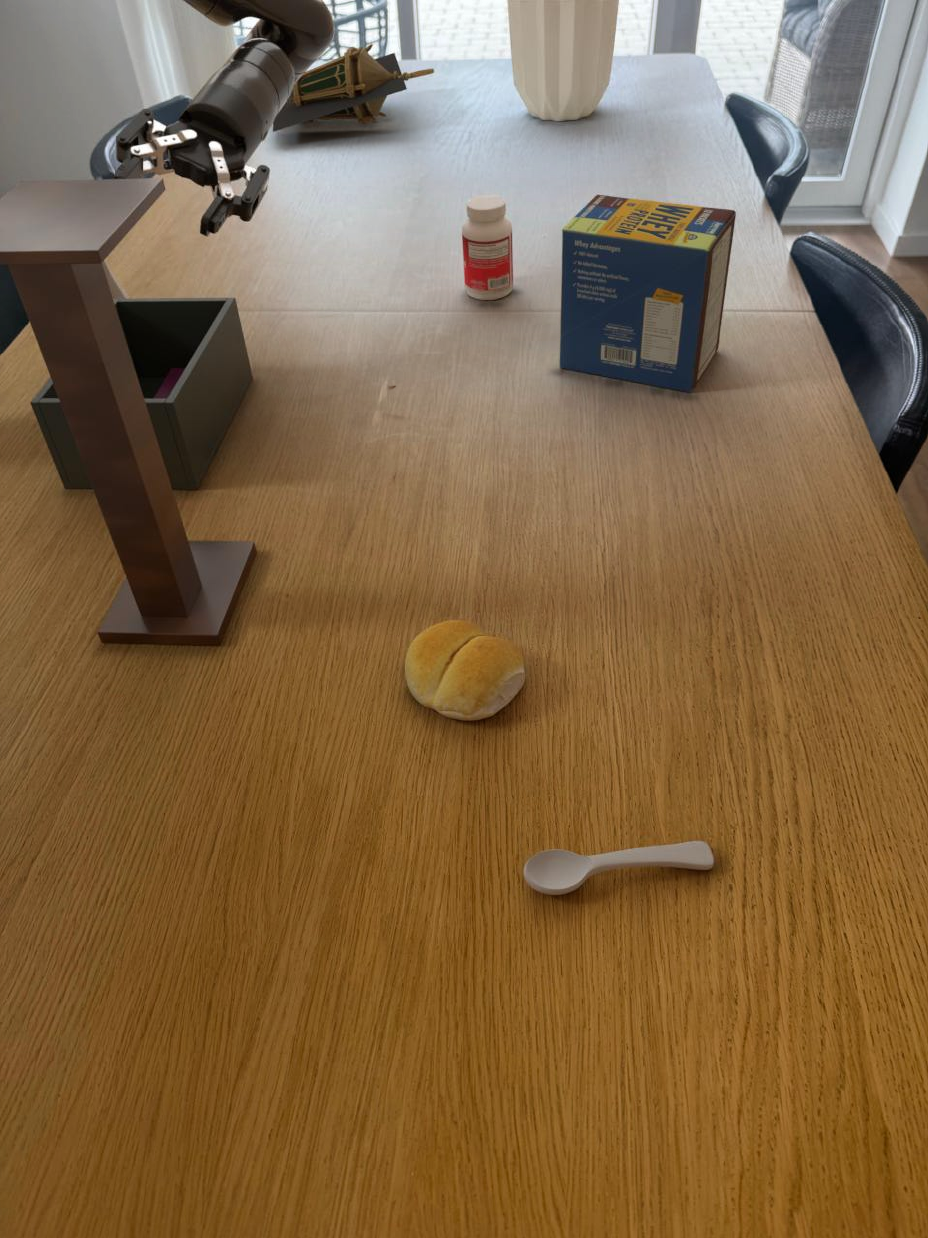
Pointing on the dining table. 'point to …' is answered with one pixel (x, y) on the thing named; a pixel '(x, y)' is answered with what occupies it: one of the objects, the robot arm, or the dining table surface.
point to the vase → (562, 54)
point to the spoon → (608, 864)
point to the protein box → (644, 290)
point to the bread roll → (463, 670)
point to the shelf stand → (114, 408)
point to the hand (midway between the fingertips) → (162, 208)
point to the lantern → (345, 89)
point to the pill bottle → (487, 249)
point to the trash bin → (197, 403)
